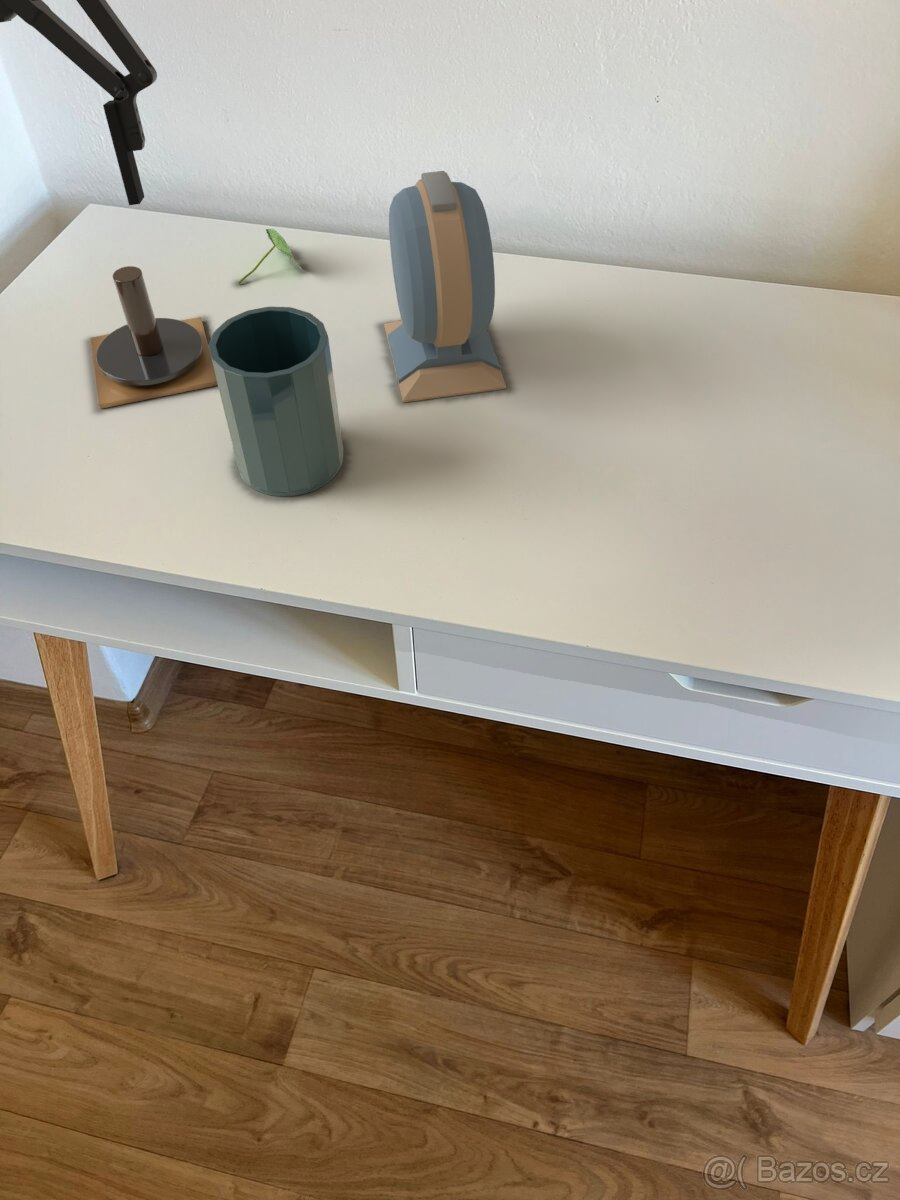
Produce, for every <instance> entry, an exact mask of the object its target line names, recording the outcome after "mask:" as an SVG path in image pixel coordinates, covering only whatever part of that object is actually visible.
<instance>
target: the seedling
mask: <svg viewBox="0 0 900 1200" xmlns="http://www.w3.org/2000/svg"><path fill="white" fill-rule="evenodd" d="M254 215H255V217H257V215H256V214H254ZM259 223H260V225H262V223H261V222H259ZM264 231H265V233H266V234H267V238H268V239H269V240H270V242H271V243H272V245H273V246H272V247H271V248H270V249H269V250H268V251H267V252H266V253H265V254H264V255H263V256H262V258H261V259H260V260H259V261H258V263H257V264H256V265H255V267H254V268H253V269H252V270H251V271H249V272H248V273H247V274H245V275H244V276H243V277H242V278H241V279H240V280H239V281H238V282H237V283H238V285H241V284H242V283H243V281H244V280H245V279H247V278H248V277H249V276H250V275H252V274H253V273H254V272H255V271H256V270H257V269H258V268H259V267H260V265H261V264H262V262H263V261H264V260H265V259H266V258H267V257H268V256H269V255H270V254H271V253H272V251H274V249H275V248H277V250H279V251H280V252H281V253H282V255H284V256H285V257H286V258H287V259H288V260H290V261H291V262H292V263H293V264H295V265H296V267H298V268H300V269H302V270H303V268H302V267H301V266H300V265H299V264H298V263H297V262H296V261H295V260H294V256H292V254H291V253H292V251H291V248H290V246H289V244H288V243H287V241H286V240H285V239H284V237H283V236H282V235H281V234H280V233H279V231H277V230H275V229H274V228H266V229H265V230H264Z"/></svg>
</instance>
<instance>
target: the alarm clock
mask: <svg viewBox="0 0 900 1200" xmlns="http://www.w3.org/2000/svg"><path fill="white" fill-rule="evenodd" d="M420 175H421V176H420V177H421V179H418V180H417V182H416V183H415V185H412V186H407V187H404V188H402V189H401V190H400V191H398V192H397V193H396V194H395V195H393V197H392V199H391V203H390V206H389V211H388V232H389V246H390V247H389V249H390V258H391V266H392V275H393V281H394V282H393V283H394V288H395V294H396V300H397V305H398V311H399V314H400V319H401V320H397V321H392V322H387V323H384V324H383V327H384V331H385V334H386V338H387V342H388V347H389V351H390V355H391V359H392V362H393V367H394V371H395V375H396V379H397V384H398V387H399V392H400V395H401V399H402V402H403V403H409V402H418V401H425V400H433V399H441V398H446V397H447V398H448V397H454V396H455V397H456V396H462V395H470V394H478V393H483V392H485V393H486V392H493V391H501V390H507V385H506V382H505V379H504V377H503V374H502V370H501V365H500V362H499V359H498V356H497V353H496V351H495V348H494V346H493V342H492V339H491V337H490V334H489V332H488V328H489V327H490V325H491V322H492V319H493V315H494V309H495V301H496V300H495V299H496V298H495V297H496V277H495V259H494V252H493V242H492V236H491V229H490V225H489V221H488V216H487V212H486V209H485V206H484V202H483V201H482V198H481V197H480V195H479V194H478V192H477V190H476V189H475V188H473V187H472V186H470V185H468V184H466V183H464V182H463V181H452V180H451V178H450V176H449V174H448V173H447V172H446V171H445V170H438V171H427V172H422V173H421V174H420Z"/></svg>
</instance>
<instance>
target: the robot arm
mask: <svg viewBox="0 0 900 1200" xmlns="http://www.w3.org/2000/svg"><path fill="white" fill-rule="evenodd" d="M76 2H77V3H78V5H79V6H80V7H81V9H82V10H83V12H84V13H85V15H86V16H87V17H88V18H89V20H90V21H91V22H92V24H93V25H94V27H95V28H96V29H97V30H98V32H99V33H100V35H101V36H102V38H103V39H104V40H105V42H106V43H107V44H108V46H109V47H110V48H111V50H112V51H113V53H114V54H115V56H116V57H117V58H118V59H119V61H120V62H121V63H122V65H123V66H124V67H125V69H126V70H127V72H128V74H126V75H124V74H123V73H122V72H121V71H120V70H119V69H118V68H117V67H115V66H114V64H112V63H111V62H110V61H108V59H106V58H105V57H104V56H103V55H102V54H101V53H100V52H99V51H97V50H96V49H95V48H94V47H93V46H92V45H91V44H90V43H89V42H87V41H86V40H85V39H84V38H83V37H82V36H81V35H79V34H78V32H76V30H74V29H73V28H72V27H71V26H69V25H68V24H67V23H66V22H65V21H64V20H63V19H62V18H61V17H59V16H58V14H56V13H55V12H54V11H53V10H52V9H51V8H50V6H49V5H48V4H46V2H45V1H44V0H0V23H7V22H11V21H13V19H15V18H16V17H17V16H18V17H19V18H20V19H21V20H23V21H24V22H25V23H26V24H27V25H29V26H31V27H32V28H33V29H35V30H36V31H37V32H38V33H40V35H42V36H43V37H44V38H45V39H46V40H47V41H48V42H49V43H50V44H51V45H53V46H54V47H55V48H56V49H58V50H59V51H60V53H62V54H63V55H64V56H66V58H68V59H69V60H70V61H71V62H72V63H74V65H76V66H77V67H78V68H79V69H80V70H81V71H83V73H85V74H86V75H87V76H88V77H89V78H91V79H92V80H93V81H94V82H95V83H96V84H98V86H99V87H101V88H102V90H104V91H105V92H107V94H109V95H110V96H111V97H112V98H113V99H112V100H108V101H106V102H105V103H103V105H102V107H103V111H104V115H105V119H106V122H107V126H108V130H109V133H110V138H111V141H112V145H113V149H114V153H115V157H116V160H117V164H118V168H119V172H120V176H121V180H122V183H123V187H124V192H125V195H126V197H127V202H128V206H135V205H140V204H141V203H142V202H143V200H144V198H145V193H144V189H143V185H142V181H141V177H140V174H139V168H138V165H137V161H136V157H135V153H134V152H136V151H142V150H143V149H144V148H145V144H146V136H145V132H144V128H143V124H142V120H141V115H140V111H139V108H138V104H137V97H138V94H139V93H140V92H141V91H143V90H145V89H147V88H148V87H150V86H151V85H153V84H154V83H155V82H156V81H157V80H158V79H157V78H158V72H157V70H156V68H155V67H154V65H153V64H152V63H151V61H150V60H149V58H148V57H147V56H146V54H145V53H144V51H143V50H142V48H141V47H140V46H139V44H138V42H137V41H136V40H135V39H134V37H133V36H132V35H131V33H130V32H129V31H128V29H127V28H126V26H125V25H124V23H123V22H122V21H121V19H120V18H119V17H118V15H117V14H116V12H115V11H114V10H113V8H112V7H111V5H110V4H109V3H108V1H107V0H76Z"/></svg>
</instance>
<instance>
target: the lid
mask: <svg viewBox="0 0 900 1200" xmlns="http://www.w3.org/2000/svg"><path fill="white" fill-rule="evenodd" d="M143 274H144V273H143V271H142V269H141V268H139V267H138V266H132V265H129V266H127V265H126V266H122V267H120V268H118V269H116V270H115V271H114V272H113V273H112V280H113V283H114V287H115V289H116V293H117V296H118V299H119V302H120V307H121V308H122V312H123V315H124V318H125V321H126V324H124V325H123V326H120V327H118V328H117V329H115V330H113V331H112V332H110V333H108V334H109V335H108V336H107V337H106V338H105V339H104V340H103V341H102V343H101V344H100V346H99V347H98V350H97V355H96V358H97V363H98V366H99V368H100V370H101V372H102V373H103V374H104V375H105V376H107V377H108V378H109V379H111V380H113V381H115V382H118V383H122V384H126V385H135V386H145V385H153V384H159V383H163V382H166V381H169V380H172V379H174V378H176V377H179V376H180V375H182V374H184V373H185V372H187V371H188V370H190V369H191V368H192V367H193V366H194V365H195V364H196V363H197V362H198V360H199V359H200V357H201V354H202V351H203V343H202V339H201V336H200V334H199V333H198V331H197V330H196V329H195V328H194V327H192V326H191V325H189V324H187V323H185V322H183V321H182V320H180V319H175V318H167V317H155V312H154V310H153V306H152V303H151V298H150V296H149V295H150V294H149V291H148V288H147V284H146V282H145V278H144V275H143Z"/></svg>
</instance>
